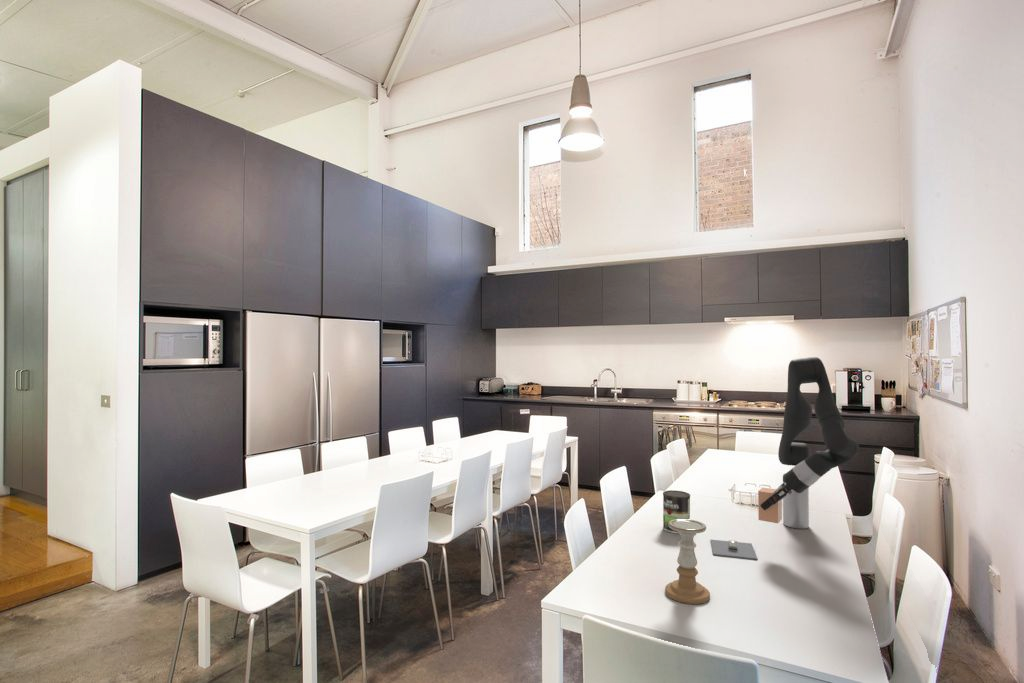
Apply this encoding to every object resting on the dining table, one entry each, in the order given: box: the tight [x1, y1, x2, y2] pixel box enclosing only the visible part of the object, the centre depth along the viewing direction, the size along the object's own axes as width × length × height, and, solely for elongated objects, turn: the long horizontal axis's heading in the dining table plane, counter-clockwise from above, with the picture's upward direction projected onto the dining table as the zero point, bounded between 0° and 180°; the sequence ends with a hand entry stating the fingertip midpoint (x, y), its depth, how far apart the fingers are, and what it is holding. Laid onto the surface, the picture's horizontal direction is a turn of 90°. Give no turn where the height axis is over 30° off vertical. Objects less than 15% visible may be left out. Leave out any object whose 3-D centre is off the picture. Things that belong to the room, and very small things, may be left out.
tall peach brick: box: [757, 487, 783, 524], centre depth 188 cm, size 6×6×10 cm
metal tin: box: [727, 539, 738, 550], centre depth 190 cm, size 3×3×2 cm
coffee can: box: [662, 489, 691, 535], centre depth 212 cm, size 10×10×14 cm
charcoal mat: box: [710, 539, 759, 561], centre depth 190 cm, size 15×14×1 cm
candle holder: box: [664, 519, 711, 605], centre depth 155 cm, size 12×12×20 cm
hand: (764, 505), depth 189 cm, fingers closed on tall peach brick, 6 cm apart
